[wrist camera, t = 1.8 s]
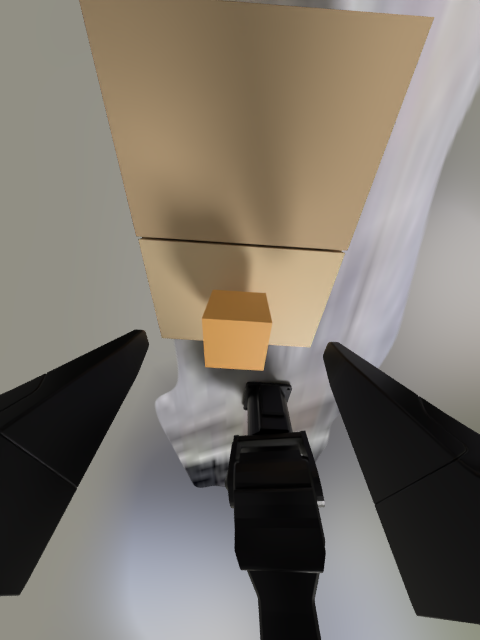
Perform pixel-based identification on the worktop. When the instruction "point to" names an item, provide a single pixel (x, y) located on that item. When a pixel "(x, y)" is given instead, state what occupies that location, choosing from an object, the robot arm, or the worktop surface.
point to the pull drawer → (238, 296)
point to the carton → (250, 114)
